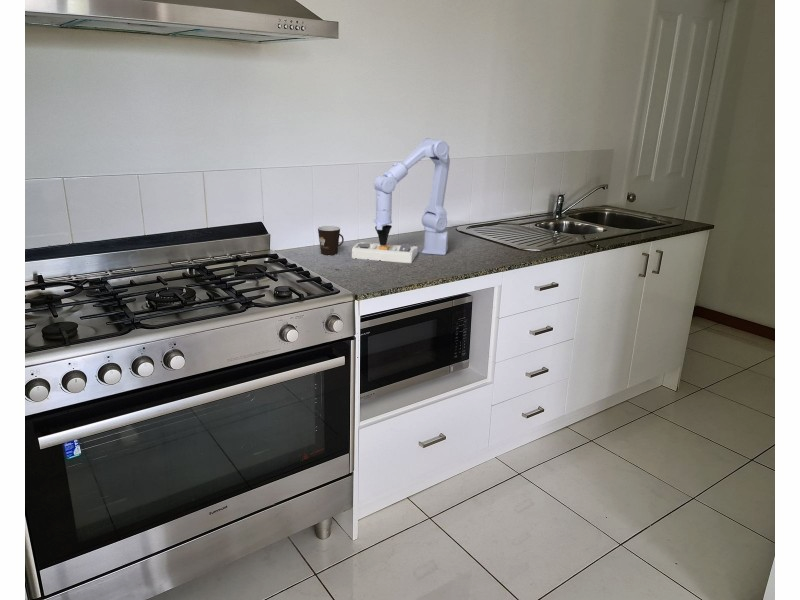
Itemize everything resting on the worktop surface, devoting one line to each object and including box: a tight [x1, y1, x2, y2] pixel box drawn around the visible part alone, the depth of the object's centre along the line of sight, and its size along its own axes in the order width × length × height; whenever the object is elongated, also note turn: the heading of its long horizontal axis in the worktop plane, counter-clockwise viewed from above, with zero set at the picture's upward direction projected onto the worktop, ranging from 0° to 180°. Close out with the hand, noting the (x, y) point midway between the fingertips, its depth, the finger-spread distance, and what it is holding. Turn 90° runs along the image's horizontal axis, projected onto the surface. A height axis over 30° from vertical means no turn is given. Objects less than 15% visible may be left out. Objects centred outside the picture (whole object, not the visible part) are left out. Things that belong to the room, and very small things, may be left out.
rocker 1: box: [358, 242, 370, 248], centre depth 221 cm, size 3×6×2 cm, turn 169°
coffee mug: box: [317, 225, 345, 256], centre depth 222 cm, size 12×9×10 cm
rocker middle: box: [378, 243, 390, 250], centre depth 220 cm, size 3×6×2 cm, turn 169°
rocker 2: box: [399, 243, 411, 252], centre depth 219 cm, size 3×6×2 cm, turn 169°
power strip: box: [351, 241, 419, 264], centre depth 223 cm, size 23×14×4 cm, turn 79°
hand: (383, 244), depth 218 cm, fingers closed
